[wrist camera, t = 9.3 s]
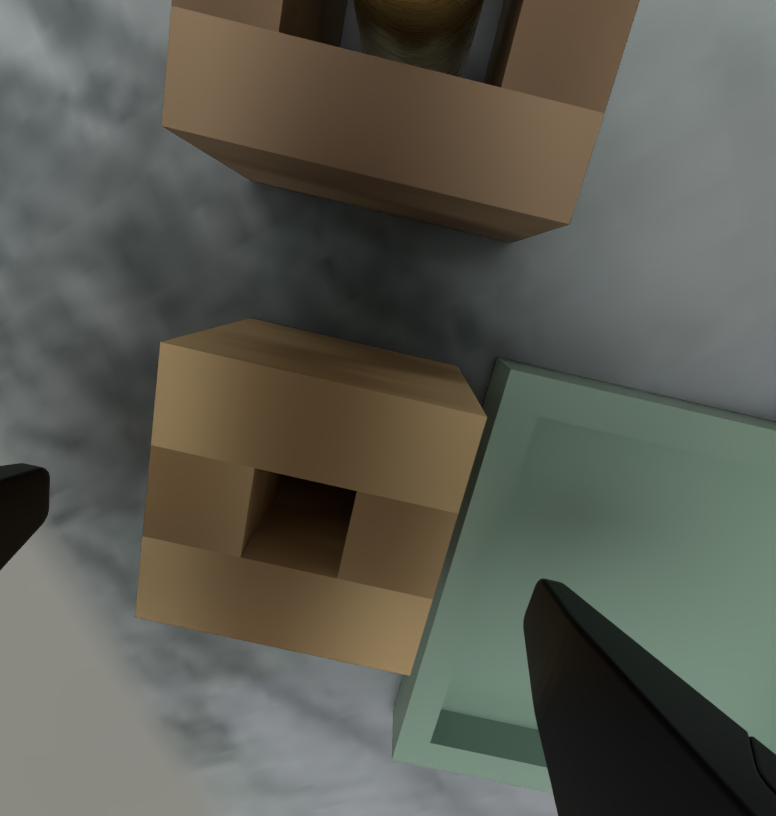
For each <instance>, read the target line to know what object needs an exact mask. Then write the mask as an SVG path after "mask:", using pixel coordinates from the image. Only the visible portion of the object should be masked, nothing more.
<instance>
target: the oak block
mask: <svg viewBox="0 0 776 816" xmlns="http://www.w3.org/2000/svg"><path fill="white" fill-rule="evenodd" d="M486 420H487V416H486V414H485V412H484V411H483V409H482V407H481V405H480V404H479V402H478V400H477V398H476V397H475V395H474V393H473V391H472V390H471V388H470V386H469V385H468V383H467V381H466V379H465V378H464V376H463V374H462V372H461V371H460V369H459V367H458V366H455V365H451V364H447V363H442V362H438V361H434V360H429V359H425V358H421V357H416V356H412V355H408V354H403V353H399V352H395V351H390V350H386V349H382V348H378V347H373V346H369V345H365V344H360V343H356V342H352V341H347V340H343V339H339V338H334V337H330V336H326V335H321V334H317V333H313V332H308V331H304V330H300V329H296V328H291V327H287V326H283V325H278V324H274V323H270V322H265V321H261V320H257V319H252V318H248V319H244V320H240V321H237V322H233V323H229V324H226V325H222V326H218V327H214V328H211V329H207V330H203V331H200V332H196V333H192V334H189V335H185V336H181V337H177V338H174V339H170V340H166V341H163V342H160V352H159V363H158V373H157V384H156V395H155V406H154V417H153V428H152V439H151V449H150V460H149V471H148V482H147V493H146V504H145V515H144V525H143V536H142V547H141V558H140V569H139V580H138V590H137V601H136V612H135V617H136V618H141V619H145V620H150V621H155V622H159V623H164V624H169V625H174V626H178V627H183V628H188V629H192V630H197V631H202V632H206V633H211V634H216V635H220V636H225V637H230V638H234V639H239V640H244V641H248V642H253V643H258V644H262V645H267V646H272V647H276V648H281V649H286V650H291V651H295V652H300V653H305V654H309V655H314V656H319V657H323V658H328V659H333V660H337V661H342V662H347V663H351V664H356V665H361V666H365V667H370V668H375V669H379V670H384V671H389V672H394V673H398V674H403V675H408V676H410V674H411V670H412V667H413V664H414V660H415V657H416V654H417V650H418V647H419V644H420V640H421V637H422V634H423V630H424V627H425V624H426V620H427V617H428V614H429V610H430V607H431V604H432V600H433V597H434V593H435V590H436V587H437V583H438V580H439V577H440V573H441V570H442V567H443V563H444V560H445V557H446V553H447V550H448V547H449V543H450V540H451V537H452V533H453V530H454V527H455V523H456V520H457V517H458V513H459V510H460V507H461V503H462V500H463V497H464V493H465V490H466V486H467V483H468V480H469V476H470V473H471V470H472V466H473V463H474V460H475V456H476V453H477V450H478V446H479V443H480V440H481V436H482V433H483V430H484V426H485V423H486Z"/></svg>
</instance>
